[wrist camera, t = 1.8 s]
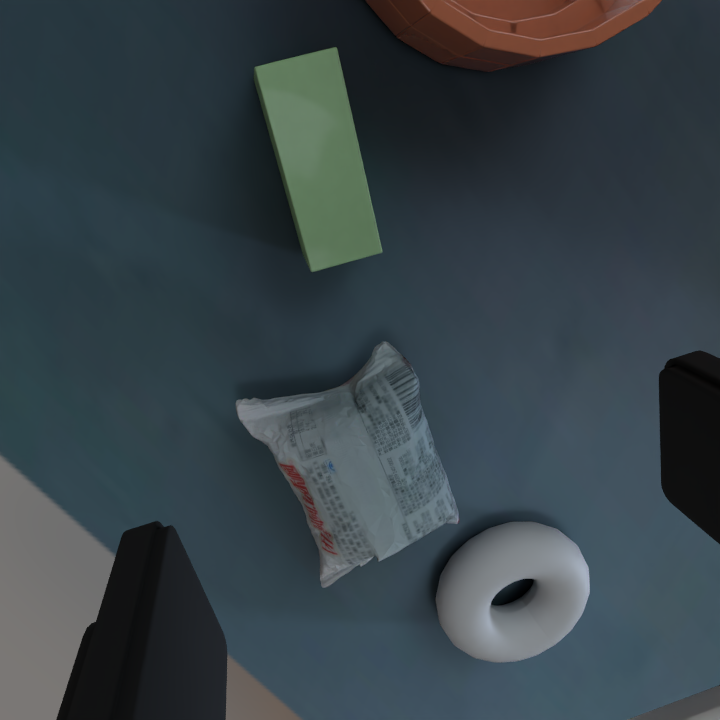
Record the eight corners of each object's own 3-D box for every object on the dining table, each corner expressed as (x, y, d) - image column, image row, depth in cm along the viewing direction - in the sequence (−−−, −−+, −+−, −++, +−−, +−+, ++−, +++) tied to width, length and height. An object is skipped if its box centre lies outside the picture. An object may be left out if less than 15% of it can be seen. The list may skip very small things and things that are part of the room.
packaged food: (315, 554, 34) (327, 617, 29) (233, 387, 29) (232, 432, 24) (449, 497, 34) (481, 551, 30) (390, 324, 29) (417, 356, 25)
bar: (252, 77, 24) (253, 66, 21) (325, 58, 24) (337, 46, 21) (303, 256, 27) (311, 272, 24) (366, 239, 28) (382, 252, 24)
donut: (490, 485, 34) (398, 605, 36) (515, 519, 31) (413, 649, 33) (599, 543, 38) (510, 650, 40) (632, 579, 35) (533, 693, 37)
